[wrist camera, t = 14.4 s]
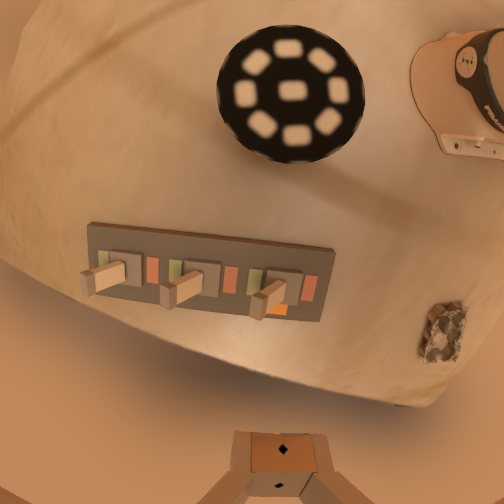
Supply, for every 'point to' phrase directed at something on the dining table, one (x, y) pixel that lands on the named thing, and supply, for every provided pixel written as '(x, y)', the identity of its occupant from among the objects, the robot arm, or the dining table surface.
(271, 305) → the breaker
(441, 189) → the dining table surface
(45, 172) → the dining table surface
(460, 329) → the egg carton
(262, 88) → the white-spotted black cylinder
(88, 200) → the dining table surface
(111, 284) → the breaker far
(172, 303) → the breaker mid
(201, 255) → the breaker panel
